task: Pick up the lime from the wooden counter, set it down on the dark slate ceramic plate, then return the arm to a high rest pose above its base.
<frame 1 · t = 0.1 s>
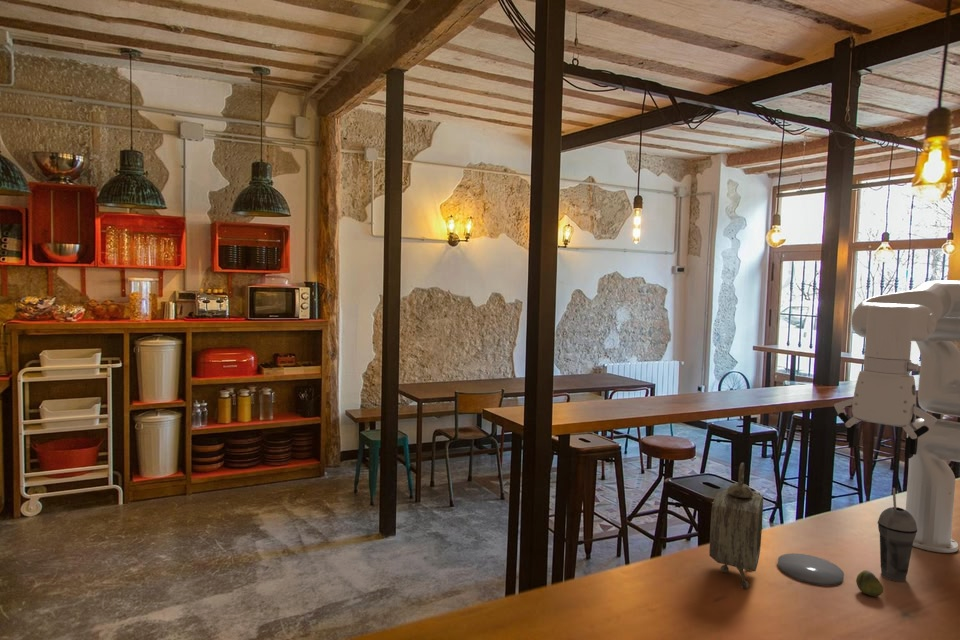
hand: (880, 451, 120), 31 cm above the table, tool pointing down, fingers open, 9 cm apart
tabletop clock: (733, 575, 132), on the table
slate plate: (809, 570, 135), on the table
lime: (868, 595, 125), on the table
beverage cup: (893, 577, 133), on the table
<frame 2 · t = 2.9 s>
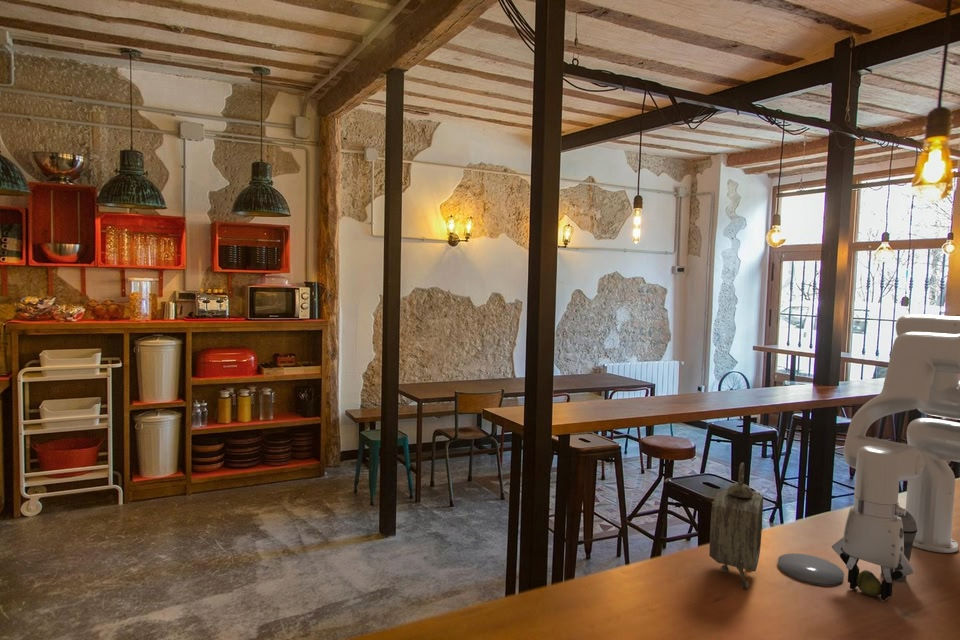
hand: (869, 591, 125), 1 cm above the table, tool pointing down, fingers closed on lime, 4 cm apart
lime: (868, 595, 125), on the table, touching gripper
everything else where it was.
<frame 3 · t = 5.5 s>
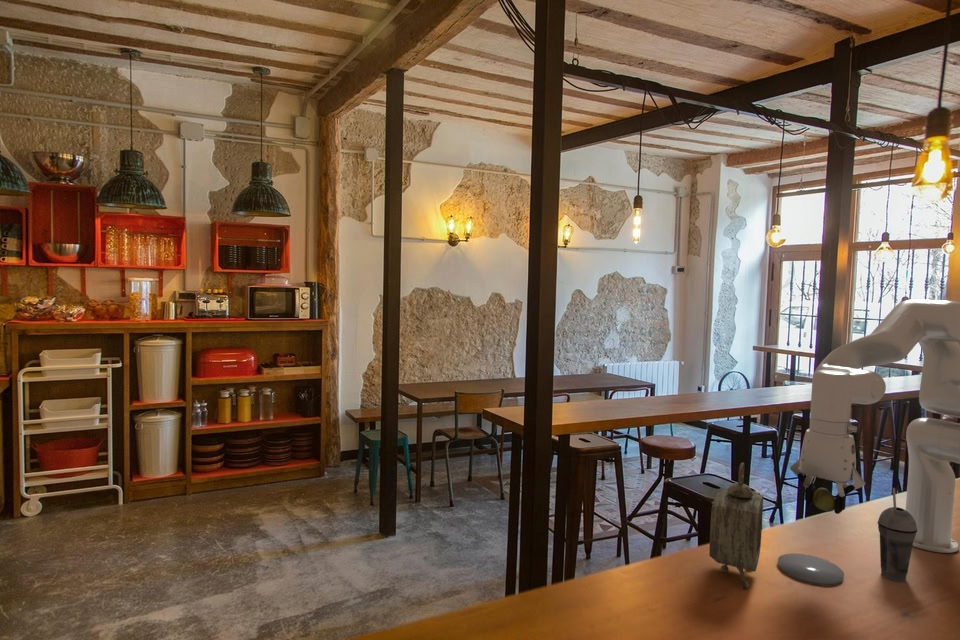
hand: (824, 507, 132), 15 cm above the table, tool pointing down, fingers closed on lime, 4 cm apart
lime: (824, 511, 132), point 14 cm above the table, touching gripper
everything else where it was.
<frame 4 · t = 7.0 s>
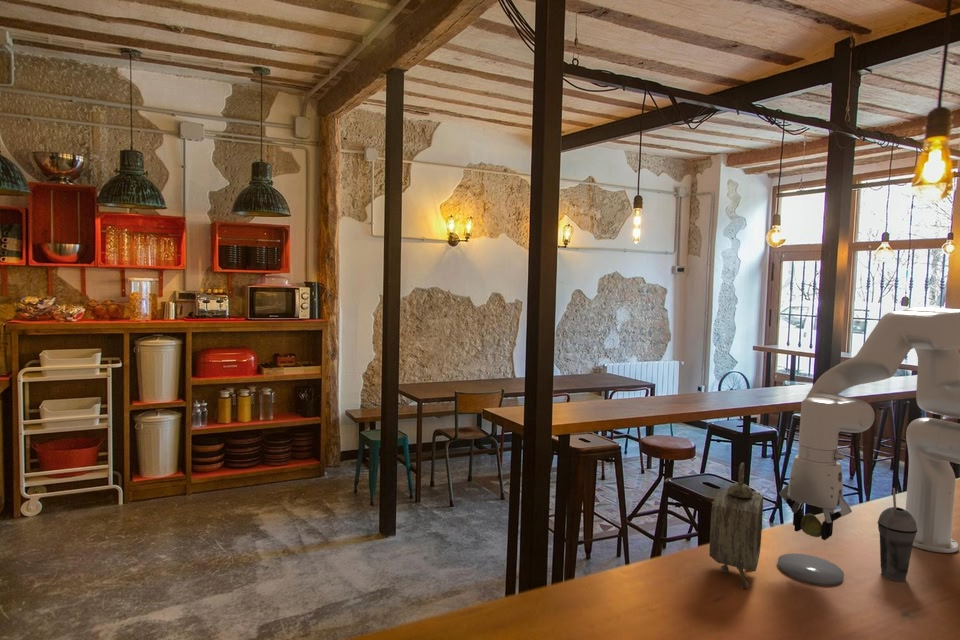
hand: (811, 533, 134), 9 cm above the table, tool pointing down, fingers closed on lime, 4 cm apart
lime: (811, 537, 134), point 8 cm above the table, touching gripper
everything else where it was.
when the fingers open (3 cm above the table, at t = 8.4 s): lime drops 1 cm, resting on slate plate.
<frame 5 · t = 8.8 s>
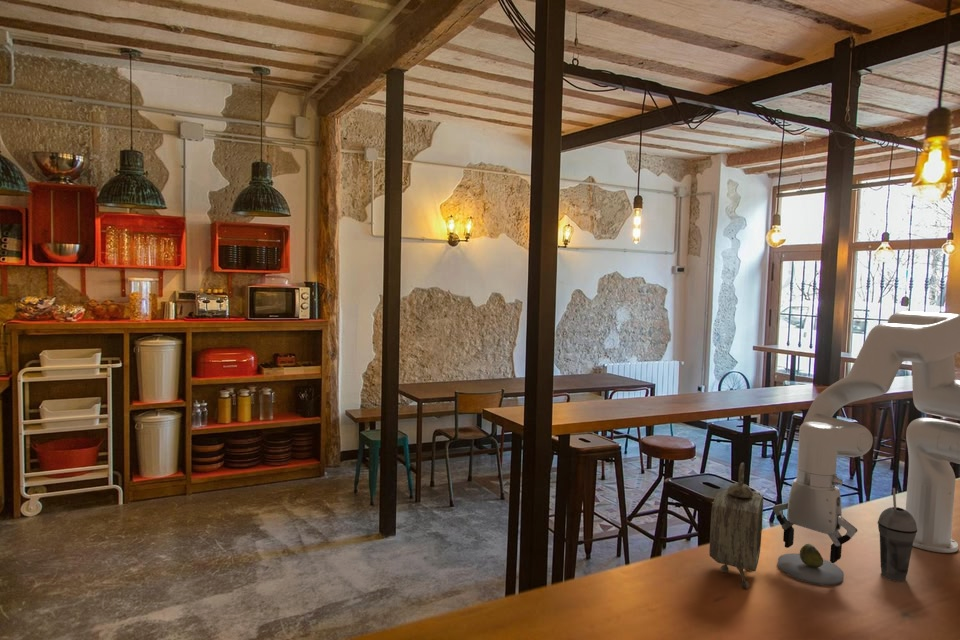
hand: (810, 553, 134), 4 cm above the table, tool pointing down, fingers open, 9 cm apart
lime: (810, 567, 135), point 1 cm above the table, touching slate plate
everything else where it was.
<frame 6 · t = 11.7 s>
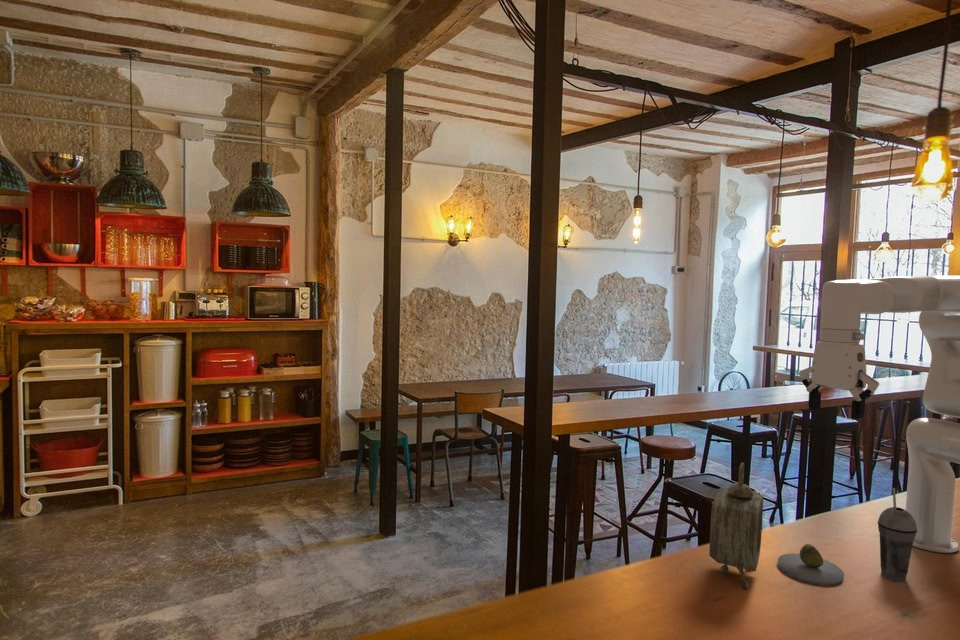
hand: (835, 413, 133), 36 cm above the table, tool pointing down, fingers open, 9 cm apart
nothing on the table moved.
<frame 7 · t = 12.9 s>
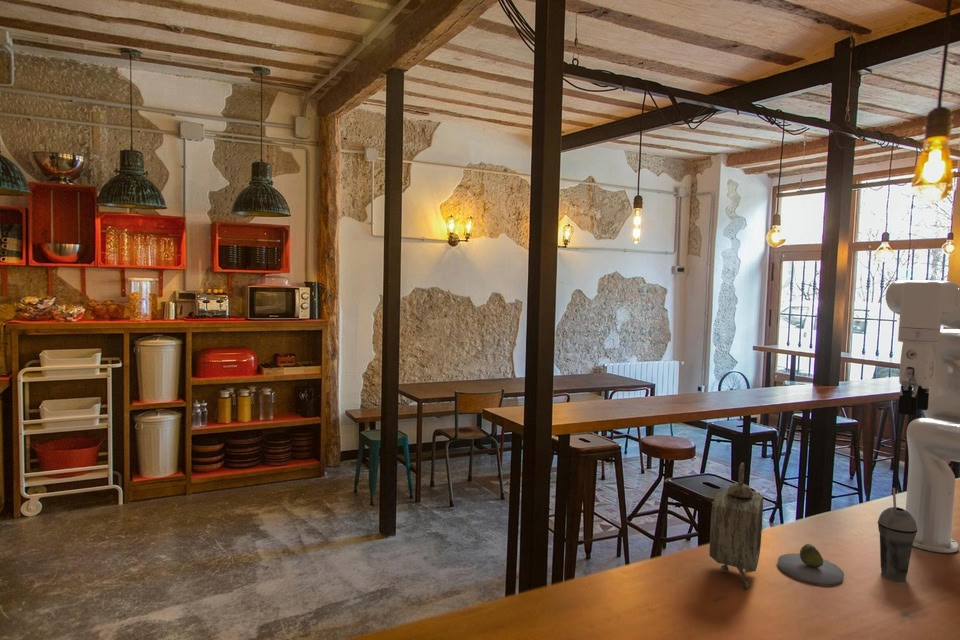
hand: (913, 411, 135), 36 cm above the table, tool pointing down, fingers open, 9 cm apart
nothing on the table moved.
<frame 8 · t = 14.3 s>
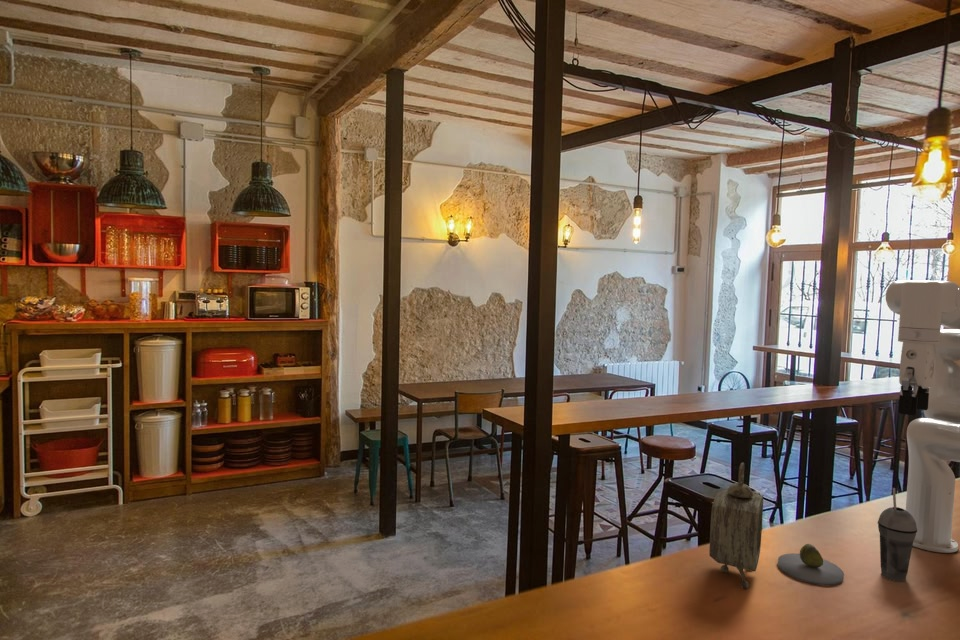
hand: (913, 411, 135), 36 cm above the table, tool pointing down, fingers open, 9 cm apart
nothing on the table moved.
at the end: lime inside the target area on the slate plate (0.2 cm from its centre), point 0.8 cm above the slate plate's base; the gripper is holding nothing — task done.
